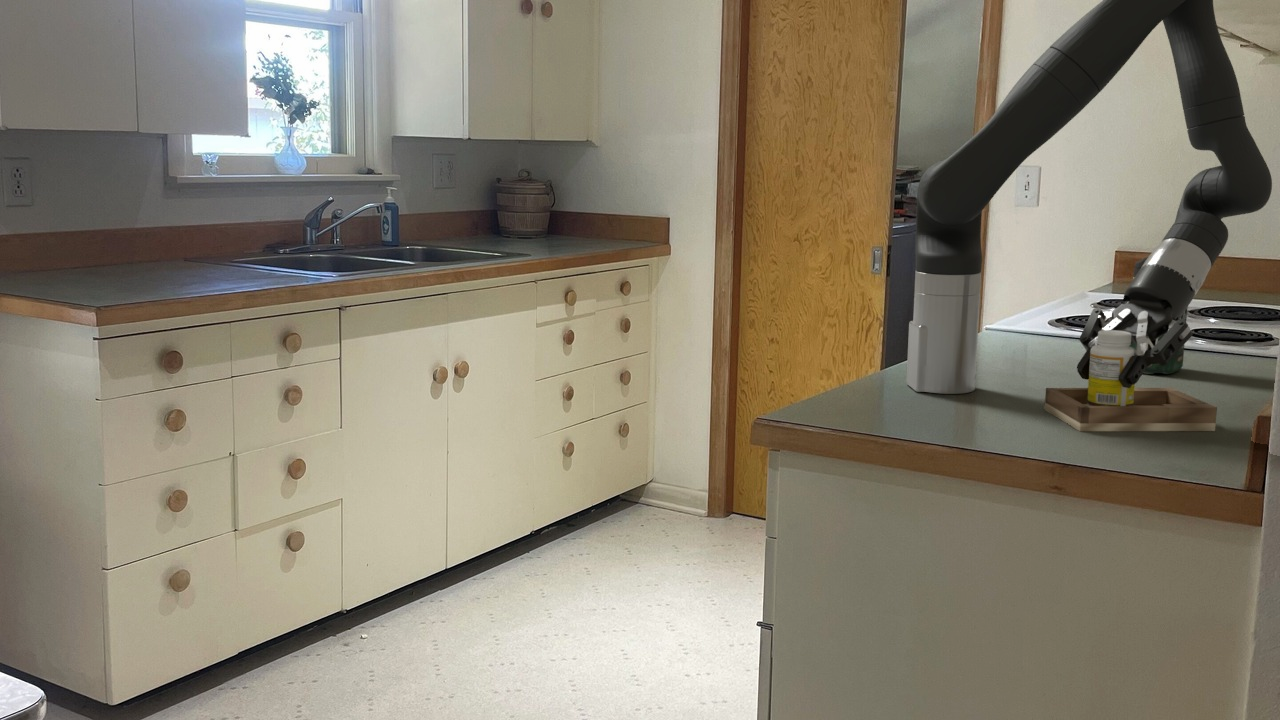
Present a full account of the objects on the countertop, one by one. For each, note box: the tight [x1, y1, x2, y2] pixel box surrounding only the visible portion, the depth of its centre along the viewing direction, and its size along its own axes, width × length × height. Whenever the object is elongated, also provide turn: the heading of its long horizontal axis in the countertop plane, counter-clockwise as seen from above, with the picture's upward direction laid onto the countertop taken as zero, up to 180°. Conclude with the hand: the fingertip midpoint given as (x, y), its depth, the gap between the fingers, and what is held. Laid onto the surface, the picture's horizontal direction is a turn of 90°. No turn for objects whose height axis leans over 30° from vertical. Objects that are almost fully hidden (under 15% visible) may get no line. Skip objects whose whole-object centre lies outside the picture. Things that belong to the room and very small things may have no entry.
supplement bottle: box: [1087, 330, 1136, 406], centre depth 146 cm, size 6×6×10 cm
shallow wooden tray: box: [1044, 387, 1218, 432], centre depth 147 cm, size 17×12×3 cm
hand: (1102, 379), depth 145 cm, fingers closed on supplement bottle, 5 cm apart
